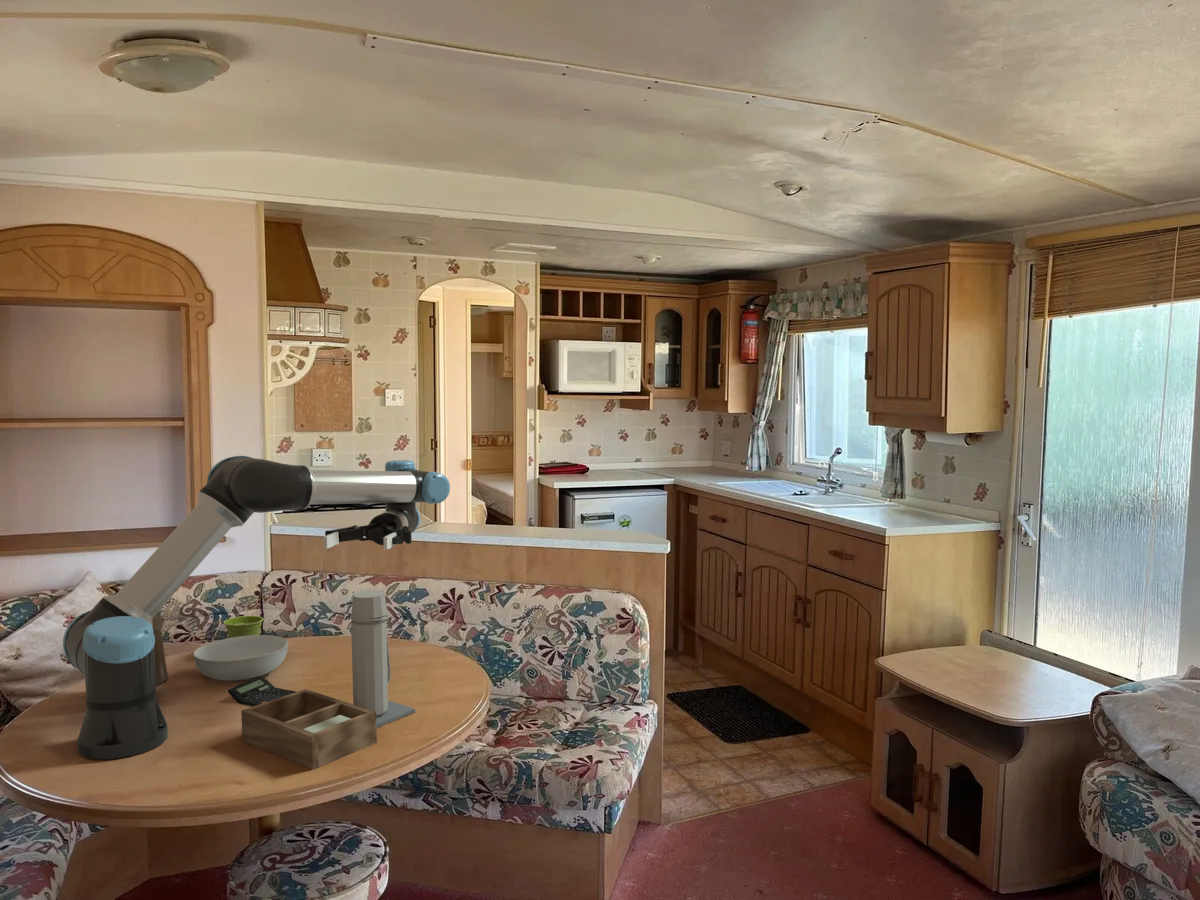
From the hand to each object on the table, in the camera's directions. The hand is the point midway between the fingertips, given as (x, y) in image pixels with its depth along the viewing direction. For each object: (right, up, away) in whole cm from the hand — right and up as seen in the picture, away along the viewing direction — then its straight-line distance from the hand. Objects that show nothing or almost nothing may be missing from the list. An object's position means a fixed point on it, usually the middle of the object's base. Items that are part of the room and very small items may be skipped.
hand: (355, 543), depth 187 cm
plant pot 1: (-48, -33, +1) cm, 58 cm away
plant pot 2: (-38, -32, +33) cm, 60 cm away
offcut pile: (+3, -36, -28) cm, 46 cm away
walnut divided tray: (-2, -36, -23) cm, 43 cm away
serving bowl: (-31, -33, +16) cm, 49 cm away
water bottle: (+7, -34, -10) cm, 36 cm away
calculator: (-20, -35, +1) cm, 40 cm away
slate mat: (+7, -35, -10) cm, 37 cm away
